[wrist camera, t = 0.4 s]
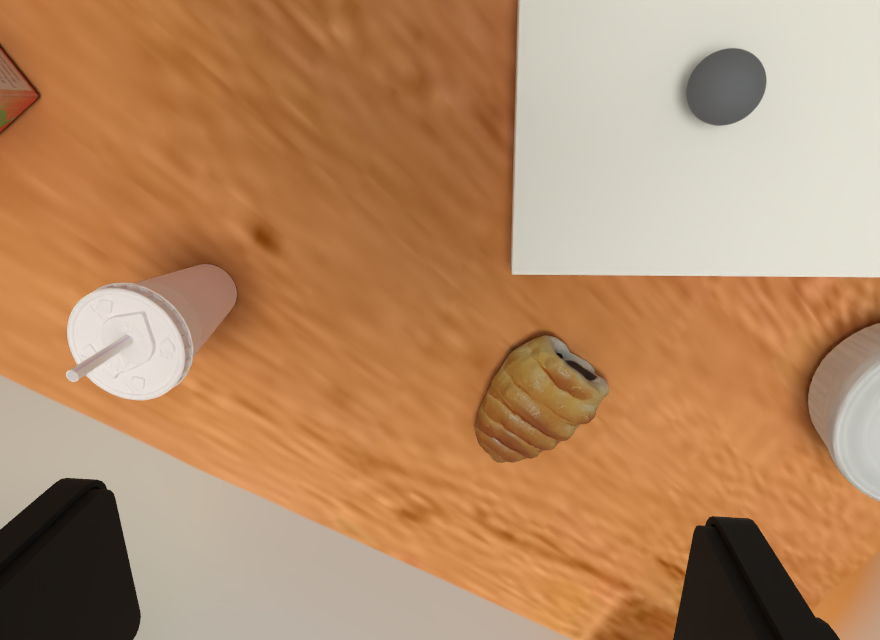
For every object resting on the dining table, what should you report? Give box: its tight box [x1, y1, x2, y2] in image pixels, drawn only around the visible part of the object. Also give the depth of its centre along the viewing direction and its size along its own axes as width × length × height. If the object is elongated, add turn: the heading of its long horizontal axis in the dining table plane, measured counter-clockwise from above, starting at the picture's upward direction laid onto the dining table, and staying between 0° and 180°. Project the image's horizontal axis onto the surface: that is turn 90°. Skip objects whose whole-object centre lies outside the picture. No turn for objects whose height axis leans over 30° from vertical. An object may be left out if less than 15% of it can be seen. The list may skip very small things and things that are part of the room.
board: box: [511, 0, 880, 277], centre depth 31 cm, size 32×20×2 cm, turn 91°
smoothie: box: [66, 264, 237, 400], centre depth 32 cm, size 6×6×14 cm
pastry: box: [475, 335, 609, 463], centre depth 38 cm, size 9×7×4 cm
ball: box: [686, 48, 767, 126], centre depth 28 cm, size 4×4×4 cm
